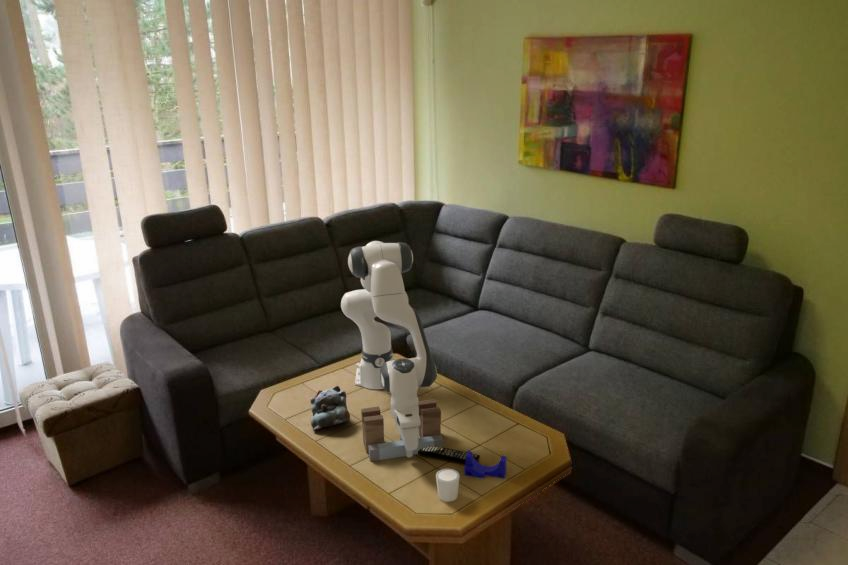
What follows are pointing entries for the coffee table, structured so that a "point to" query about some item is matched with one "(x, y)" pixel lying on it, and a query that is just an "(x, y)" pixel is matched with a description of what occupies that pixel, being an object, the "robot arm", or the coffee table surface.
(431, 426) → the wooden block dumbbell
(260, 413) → the coffee table surface
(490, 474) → the cable clip
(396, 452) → the bed rail
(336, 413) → the lucky cat figurine
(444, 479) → the shot glass
